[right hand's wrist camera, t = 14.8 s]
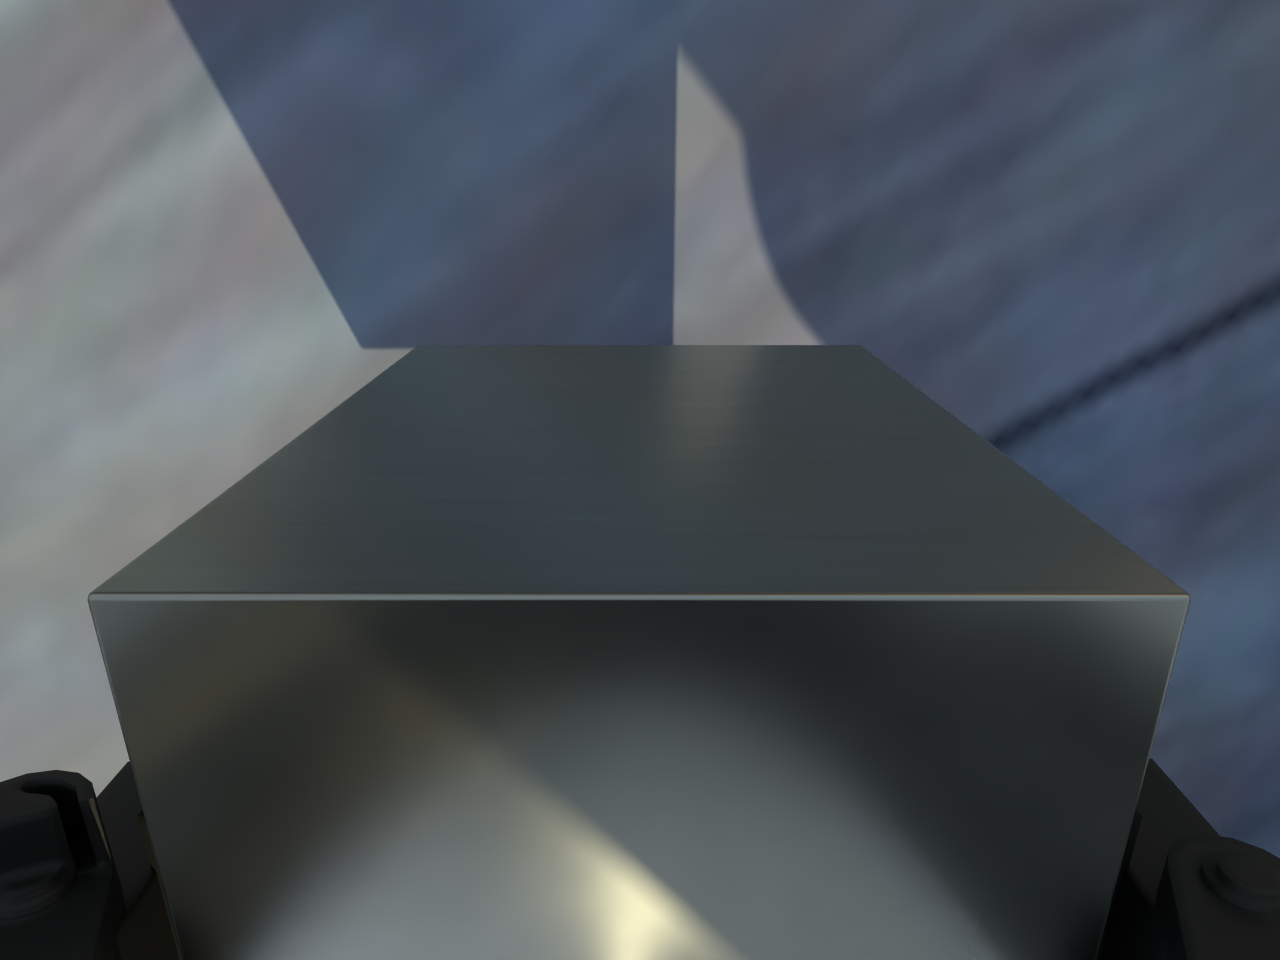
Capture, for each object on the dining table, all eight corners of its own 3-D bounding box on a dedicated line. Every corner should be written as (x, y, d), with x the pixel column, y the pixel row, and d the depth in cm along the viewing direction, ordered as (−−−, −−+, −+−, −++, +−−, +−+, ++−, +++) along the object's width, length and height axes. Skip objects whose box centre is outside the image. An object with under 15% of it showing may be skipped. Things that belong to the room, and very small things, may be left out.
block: (825, 735, 18) (1010, 1295, 9) (454, 735, 18) (267, 1294, 9) (861, 344, 15) (1196, 595, 6) (417, 344, 15) (83, 595, 6)
